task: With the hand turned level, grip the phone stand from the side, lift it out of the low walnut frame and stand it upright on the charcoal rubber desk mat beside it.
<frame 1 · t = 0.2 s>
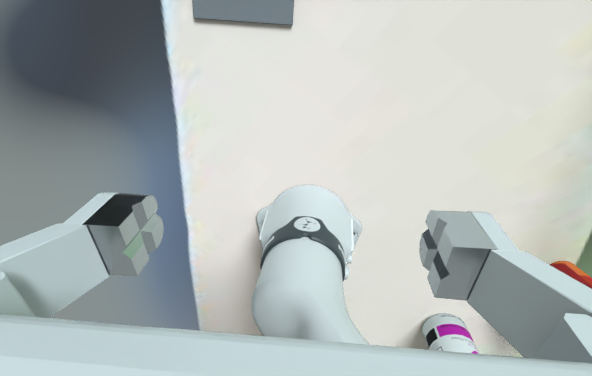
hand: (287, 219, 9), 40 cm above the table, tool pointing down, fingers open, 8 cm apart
supplement can: (442, 325, 62), on the table
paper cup: (558, 272, 54), on the table
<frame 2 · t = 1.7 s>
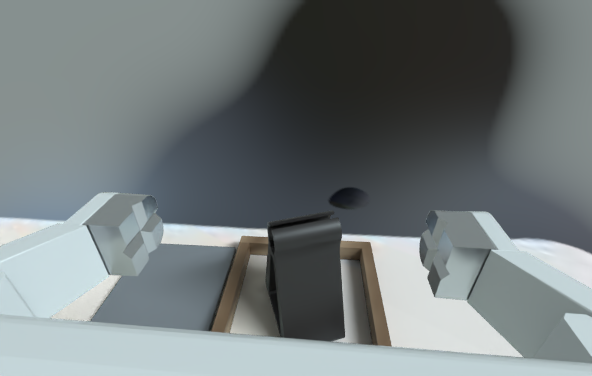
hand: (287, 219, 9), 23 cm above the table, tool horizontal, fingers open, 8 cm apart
phone stand: (301, 309, 33), resting in walnut frame
charcoal mat: (168, 292, 34), on the table
walnut frame: (301, 308, 33), on the table
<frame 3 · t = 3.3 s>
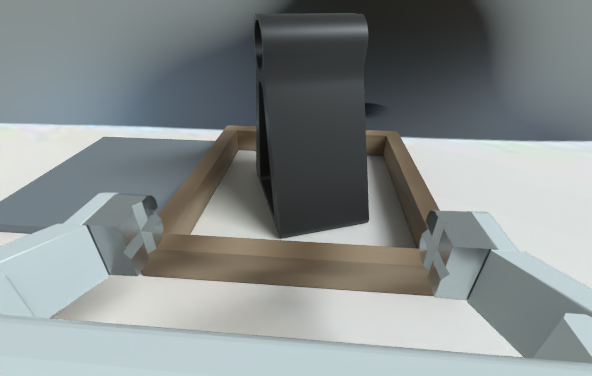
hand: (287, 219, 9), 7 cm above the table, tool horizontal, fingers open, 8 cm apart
phone stand: (305, 197, 23), resting in walnut frame
charcoal mat: (123, 179, 25), on the table
walnut frame: (305, 194, 23), on the table
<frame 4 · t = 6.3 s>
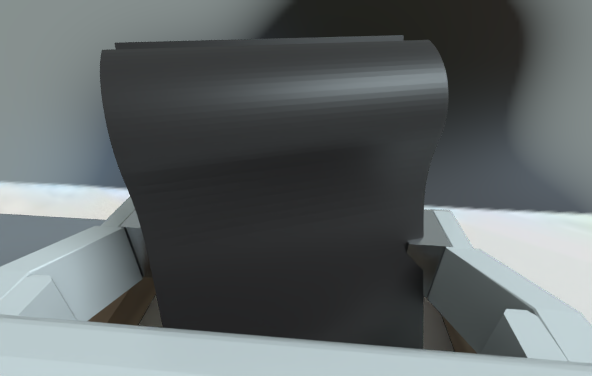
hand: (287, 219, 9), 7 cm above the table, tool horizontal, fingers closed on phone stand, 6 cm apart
phone stand: (287, 375, 12), resting in walnut frame, touching gripper
walnut frame: (287, 372, 12), on the table
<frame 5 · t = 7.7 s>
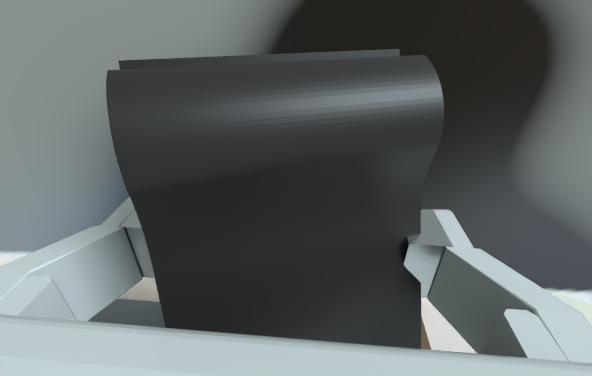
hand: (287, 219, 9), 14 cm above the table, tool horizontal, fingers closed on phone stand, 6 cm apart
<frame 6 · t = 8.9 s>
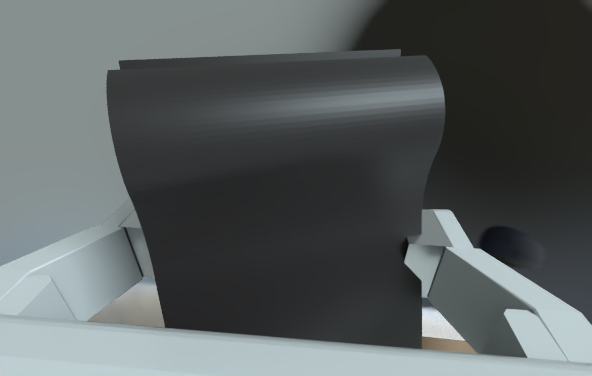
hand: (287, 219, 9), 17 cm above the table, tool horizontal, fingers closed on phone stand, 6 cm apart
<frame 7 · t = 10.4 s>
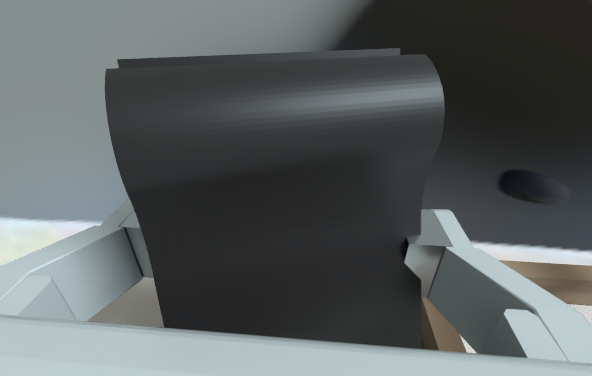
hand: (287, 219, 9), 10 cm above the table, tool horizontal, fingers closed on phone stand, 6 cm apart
when the fingers open (9 cm above the table, at t = 11.2 s): phone stand drops 1 cm, resting on charcoal mat.
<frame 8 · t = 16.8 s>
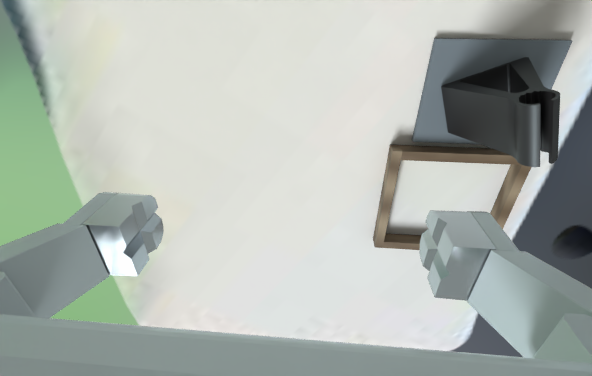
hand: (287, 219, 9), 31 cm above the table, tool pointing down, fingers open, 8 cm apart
phone stand: (483, 96, 36), resting on charcoal mat
charcoal mat: (482, 94, 36), on the table
walnut frame: (441, 199, 44), on the table
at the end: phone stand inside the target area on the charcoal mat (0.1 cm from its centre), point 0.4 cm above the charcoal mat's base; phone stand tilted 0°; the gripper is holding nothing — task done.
